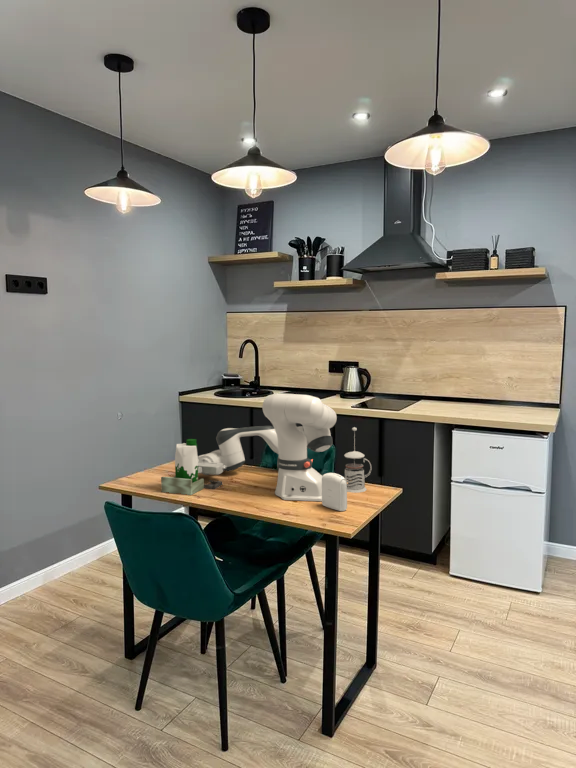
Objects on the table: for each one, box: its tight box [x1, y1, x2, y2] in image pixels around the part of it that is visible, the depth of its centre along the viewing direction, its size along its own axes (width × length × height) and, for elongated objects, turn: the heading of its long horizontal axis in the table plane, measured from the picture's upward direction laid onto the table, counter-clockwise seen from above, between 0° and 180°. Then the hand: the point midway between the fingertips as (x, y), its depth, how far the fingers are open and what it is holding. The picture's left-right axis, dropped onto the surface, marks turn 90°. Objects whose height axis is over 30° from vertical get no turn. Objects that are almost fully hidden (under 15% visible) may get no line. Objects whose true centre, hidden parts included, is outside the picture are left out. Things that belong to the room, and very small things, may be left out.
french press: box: [343, 426, 373, 494], centre depth 210 cm, size 10×12×25 cm
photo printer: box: [321, 472, 348, 512], centre depth 187 cm, size 10×4×12 cm, turn 39°
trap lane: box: [160, 475, 223, 496], centre depth 215 cm, size 23×17×6 cm
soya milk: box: [174, 438, 199, 483], centre depth 213 cm, size 9×9×20 cm
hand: (190, 471), depth 218 cm, fingers closed
